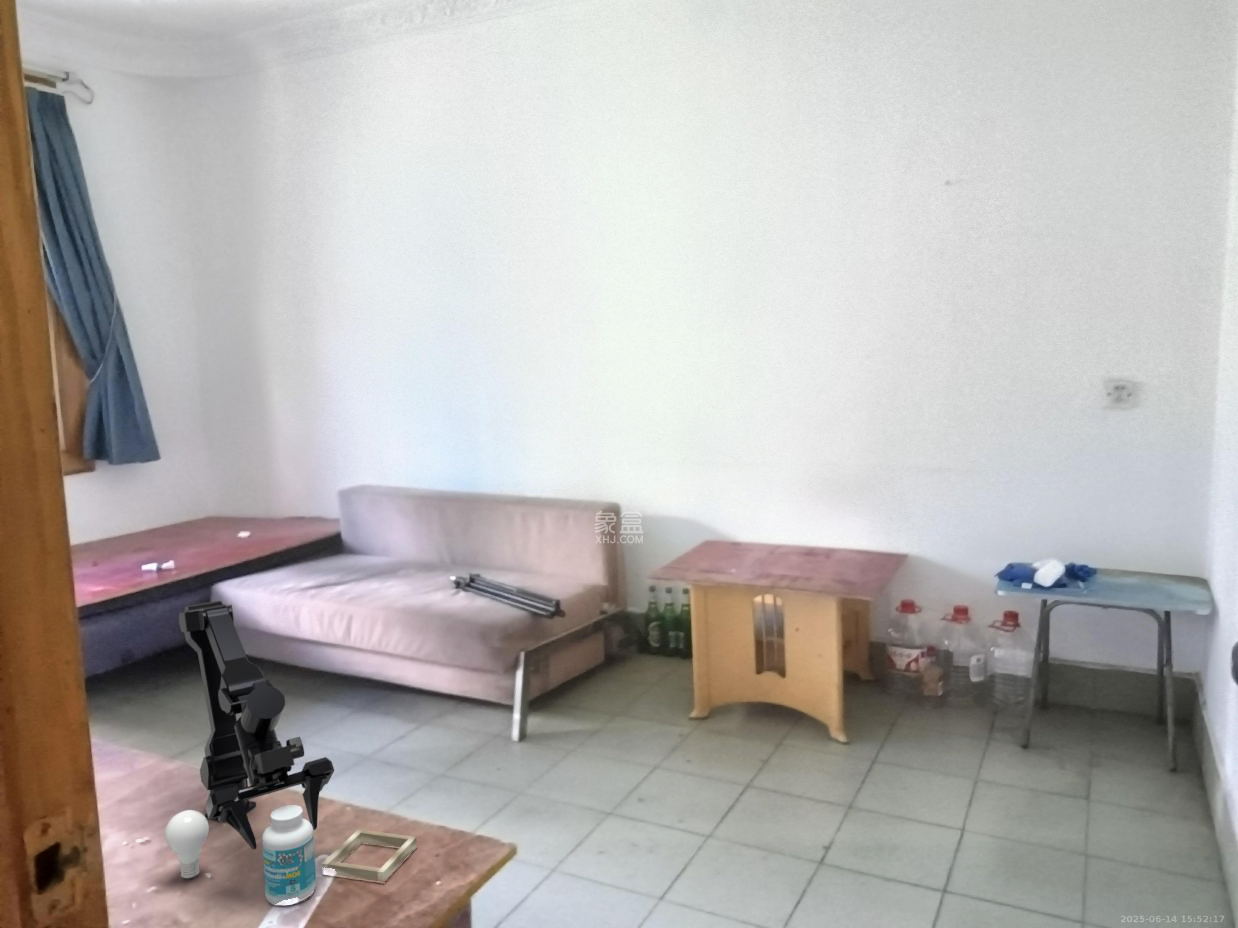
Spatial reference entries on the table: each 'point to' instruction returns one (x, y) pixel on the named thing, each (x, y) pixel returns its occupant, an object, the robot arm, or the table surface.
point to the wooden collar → (371, 838)
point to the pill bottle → (288, 855)
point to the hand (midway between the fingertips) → (285, 838)
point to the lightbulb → (187, 839)
